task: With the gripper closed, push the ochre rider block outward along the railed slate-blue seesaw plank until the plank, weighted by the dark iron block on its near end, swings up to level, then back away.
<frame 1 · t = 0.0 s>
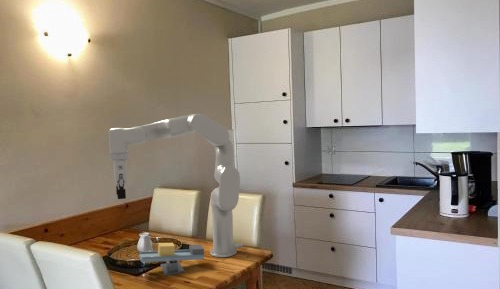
hand: (121, 196, 165), 31 cm above the table, tool pointing down, fingers open, 9 cm apart
fulcrum: (172, 269, 165), on the table
rider: (165, 255, 164), point 6 cm above the table, tilted 6°, touching beam
beam: (172, 253, 165), point 7 cm above the table, hinge at -6.0°, touching rider
flask: (147, 258, 180), on the table
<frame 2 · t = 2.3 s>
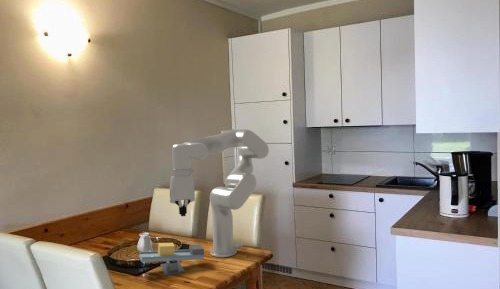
hand: (183, 215, 165), 23 cm above the table, tool pointing down, fingers closed
nothing on the table moved.
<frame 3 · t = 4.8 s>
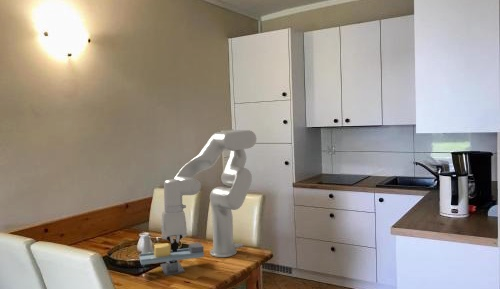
hand: (174, 251, 165), 8 cm above the table, tool pointing down, fingers closed
rider: (162, 256, 163), point 6 cm above the table, touching beam, gripper
beam: (171, 253, 164), point 7 cm above the table, hinge at -1.6°, touching rider
everything else where it was.
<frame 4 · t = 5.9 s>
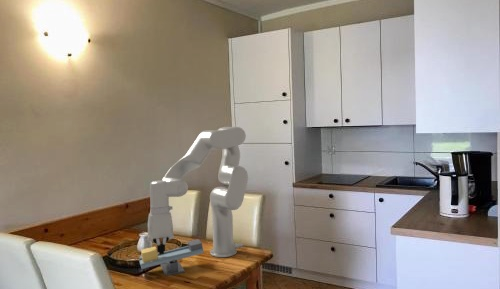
hand: (161, 253, 163), 8 cm above the table, tool pointing down, fingers closed
rider: (150, 260, 161), point 5 cm above the table, tilted 6°, touching gripper
beam: (171, 253, 164), point 7 cm above the table, hinge at 6.0°
everything else where it was.
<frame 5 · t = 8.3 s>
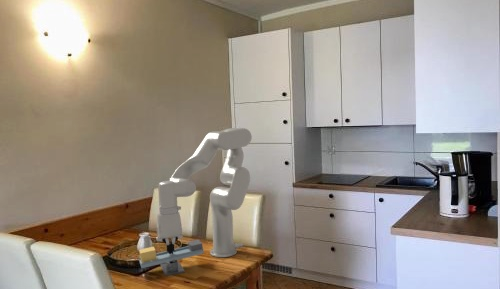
hand: (170, 252, 164), 7 cm above the table, tool pointing down, fingers closed
rider: (148, 260, 161), point 5 cm above the table, tilted 5°, touching beam
beam: (171, 253, 164), point 7 cm above the table, hinge at 5.1°, touching rider
everything else where it was.
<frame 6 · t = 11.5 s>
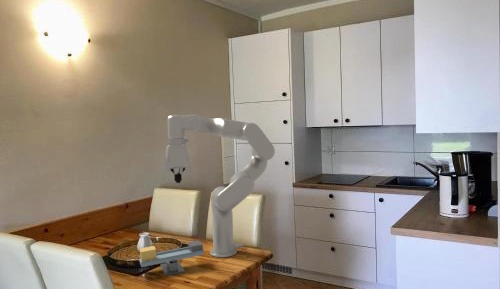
hand: (178, 182, 176), 35 cm above the table, tool pointing down, fingers closed
beam: (171, 253, 164), point 7 cm above the table, hinge at 3.0°, touching rider
everything else where it was.
at the end: beam at +3° (first picture: -6°); rider 1.3 cm from the target spot on the beam, point 0.7 cm above the beam's base; the gripper is holding nothing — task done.
